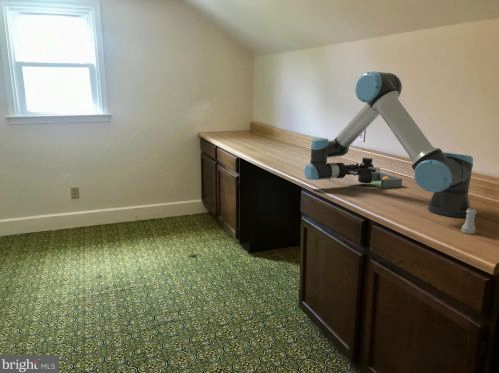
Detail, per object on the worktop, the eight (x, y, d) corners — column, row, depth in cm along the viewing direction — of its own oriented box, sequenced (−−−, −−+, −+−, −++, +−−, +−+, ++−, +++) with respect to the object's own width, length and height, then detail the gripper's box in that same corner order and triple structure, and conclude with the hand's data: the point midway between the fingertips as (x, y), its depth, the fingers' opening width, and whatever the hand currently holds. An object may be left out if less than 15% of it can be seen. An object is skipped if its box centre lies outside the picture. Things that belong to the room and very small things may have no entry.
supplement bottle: (365, 184, 200) (367, 159, 197) (354, 181, 205) (357, 157, 203) (375, 182, 203) (377, 158, 201) (364, 180, 209) (366, 156, 206)
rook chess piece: (458, 229, 141) (462, 207, 139) (472, 230, 140) (475, 207, 139) (463, 233, 137) (467, 210, 135) (477, 234, 136) (481, 211, 134)
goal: (382, 188, 199) (383, 180, 198) (360, 180, 214) (361, 173, 213) (401, 186, 203) (402, 178, 202) (378, 179, 218) (379, 172, 217)
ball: (384, 181, 203) (392, 180, 203) (382, 174, 206) (390, 174, 206) (382, 186, 206) (390, 185, 206) (380, 179, 209) (388, 179, 209)
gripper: (323, 174, 206) (361, 172, 214) (346, 182, 188) (387, 179, 197) (324, 159, 204) (362, 157, 213) (348, 166, 186) (388, 164, 195)
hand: (374, 168), depth 205 cm, fingers closed on supplement bottle, 7 cm apart
